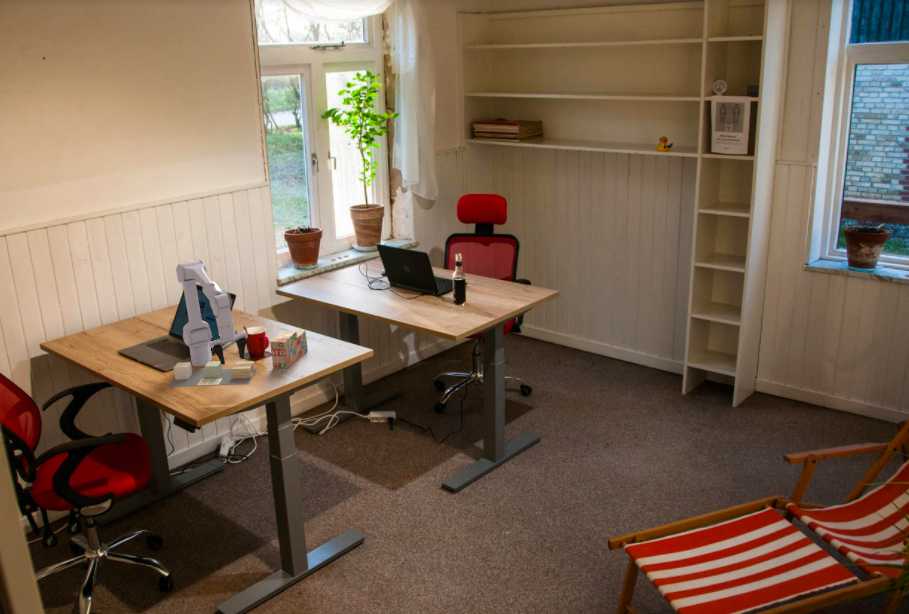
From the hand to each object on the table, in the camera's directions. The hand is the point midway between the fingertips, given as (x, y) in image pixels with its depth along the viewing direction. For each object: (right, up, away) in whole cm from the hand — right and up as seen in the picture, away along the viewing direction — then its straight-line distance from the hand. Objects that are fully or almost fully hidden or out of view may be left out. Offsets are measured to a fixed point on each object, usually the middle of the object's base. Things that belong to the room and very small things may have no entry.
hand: (232, 361), depth 290 cm
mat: (-11, -8, +12) cm, 18 cm away
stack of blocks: (+16, -2, +28) cm, 32 cm away
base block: (+1, -6, +13) cm, 14 cm away
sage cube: (-11, -6, +13) cm, 18 cm away
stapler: (-19, +4, +49) cm, 53 cm away
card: (-11, -8, +7) cm, 15 cm away
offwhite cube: (-23, -7, +13) cm, 27 cm away
